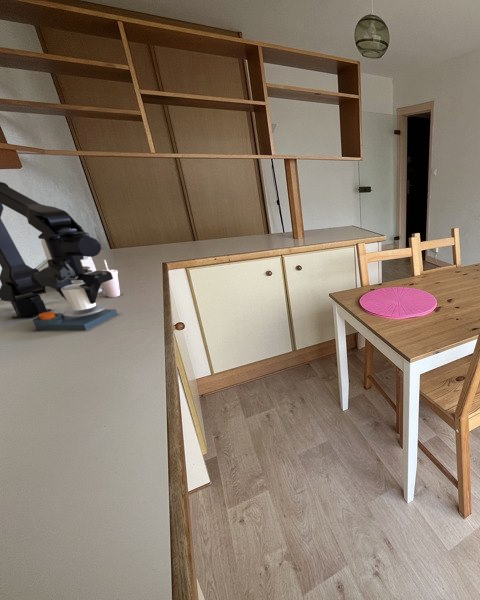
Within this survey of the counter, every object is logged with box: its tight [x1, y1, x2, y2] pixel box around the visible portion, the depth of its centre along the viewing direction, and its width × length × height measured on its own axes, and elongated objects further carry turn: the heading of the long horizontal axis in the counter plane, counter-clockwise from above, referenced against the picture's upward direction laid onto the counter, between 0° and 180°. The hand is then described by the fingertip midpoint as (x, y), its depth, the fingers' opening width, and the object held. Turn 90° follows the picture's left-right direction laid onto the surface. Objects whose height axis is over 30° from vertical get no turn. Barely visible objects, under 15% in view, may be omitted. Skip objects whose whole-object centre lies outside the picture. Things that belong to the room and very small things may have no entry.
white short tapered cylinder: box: [61, 283, 97, 310], centre depth 97 cm, size 7×7×7 cm
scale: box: [32, 308, 118, 331], centre depth 98 cm, size 14×13×4 cm
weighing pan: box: [62, 303, 107, 317], centre depth 98 cm, size 10×10×1 cm
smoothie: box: [101, 259, 121, 298], centre depth 118 cm, size 6×6×14 cm
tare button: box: [37, 311, 56, 320], centre depth 93 cm, size 3×3×2 cm
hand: (82, 303), depth 98 cm, fingers closed on white short tapered cylinder, 6 cm apart
